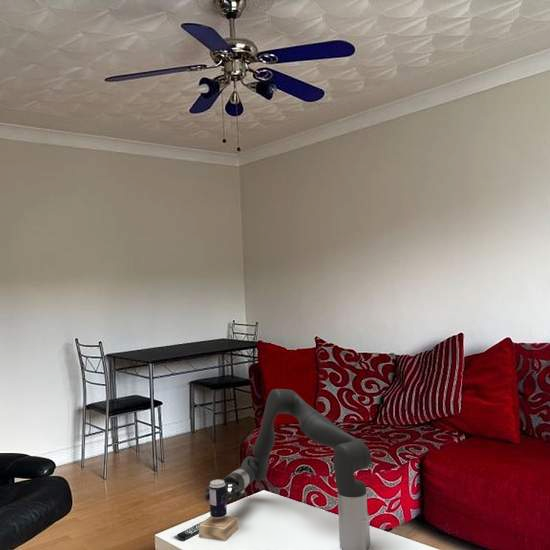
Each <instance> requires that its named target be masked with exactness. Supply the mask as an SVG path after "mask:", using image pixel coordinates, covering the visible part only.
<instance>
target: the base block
mask: <svg viewBox="0 0 550 550" xmlns="http://www.w3.org/2000/svg"><path fill="white" fill-rule="evenodd" d="M238 530H239V517H236V516H229V515H225V516H224V517H223V518H221V519H215V518H213V517H212V516H211V515H210V516H209V517H208V518H206V519H205V520H203V521H202V522H201V523H200V524H198V537H199V538H202V537H204V539H210V540H215V541H216V540H217V541H223V542H225V541H227V540H228V539H229V538H230V537H231V536H232V535H234V534H235V533H236V531H238Z"/></svg>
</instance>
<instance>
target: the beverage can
mask: <svg viewBox="0 0 550 550" xmlns="http://www.w3.org/2000/svg"><path fill="white" fill-rule="evenodd" d="M209 485H210V486H209ZM209 485H208V486H209V491H210V500H209V511H210V513H209V514H210V516H212V517H213V518H215V519H221V518H223V517H224V516H227V513H228V512H227V508H228V507H227V501H225V502H224V503H222V501H221V497H222V496H223V495H224V494H225V493H226V484H225V483H224V480H223V479H213V480H211V481H210V482H209Z"/></svg>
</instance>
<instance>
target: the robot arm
mask: <svg viewBox="0 0 550 550" xmlns="http://www.w3.org/2000/svg"><path fill="white" fill-rule="evenodd" d="M279 414H281V415H283V414H285V415H291V416H293V417H294V418H296V419H297V420H298V425H299V428H300V430H301V432H302V433H303V434H304V435H305V436H306V437H308V438H309V439H310V440H311V441H313V442H314V443H315V444H316V443H317V444H318V445H321V446H324V447H328V448H332V449H334V451H333V468H334V481H335V485H336V487H337V509H338V510H337V511H338V534H339V548H340V549H341V550H368V549H369V547H370V545H371V535H370V533H371V532H370V528H371V527H370V514H369V513H368V502H367V501H368V499H367V485H366V483H365V482H364V481H362V480H360V479H356V478H355V473H354V472H358V471H361V470H364V469H367V468H369V466H370V465H371V464H372V459H373V457H372V453H371V451H370V449H369V447H368V446H367V445H366V443H365V442H363V441H362V440H361V439H359V438H357V437H355V436H354V435H351V434H349V433H348V432H346V431H345V430H343V429H342V428H340V427H339V426H337V424H335V423H333V422H332V421H331V420H329V419H328V417H326V416H325V415H323V414H321V413H320V412H319V411H318V410H316V409H315V408H313V407H312V406H311V405H310V404H308V403H307V402H305V400H304V399H303V397H301V396H300V395H299V394H298V393H297V392H295V390H292V389H286V388H285V389H284V388H274V389H272V390H271V391H270V392H269V393H268V396H267V398H266V403H265V407H264V411H263V415H262V421H261V425H260V428H259V429H260V430H259V432H258V435H257V437H256V440H255V442H254V445H253V447H252V451H251V452H252V455H253V456H246V457H245V458H244V459H243V462H242V463H241V465H240V467H239V468H237V469H235V470H233V471H232V472H231V473H230V474H228V475H227V476H225V477H224V478H223V479H222V480H224V483H225V484H226V493H225V494H224V495H223V496H222V497H221V501H222V503H224V502H225V501H226V502H228V501H229V500H232V499H233V500H237V499H239V498H241V497H242V496H244V495H245V490H246V488H247V487H248V486H249V485H250V484H251V483H252V482H254V481H257V482H261V481H263V480H265V478H266V476H267V475H268V474H267V473H268V468H269V459H270V454H271V452H272V450H273V447H274V445H275V443H276V442H275V441H276V434H275V427H274V421H275V419H276V416H277V415H279ZM209 486H210V484H209V485H208V486H207V487H206V488H205V494H204V500H205V501H207V502H208V501H210V491H209Z"/></svg>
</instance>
